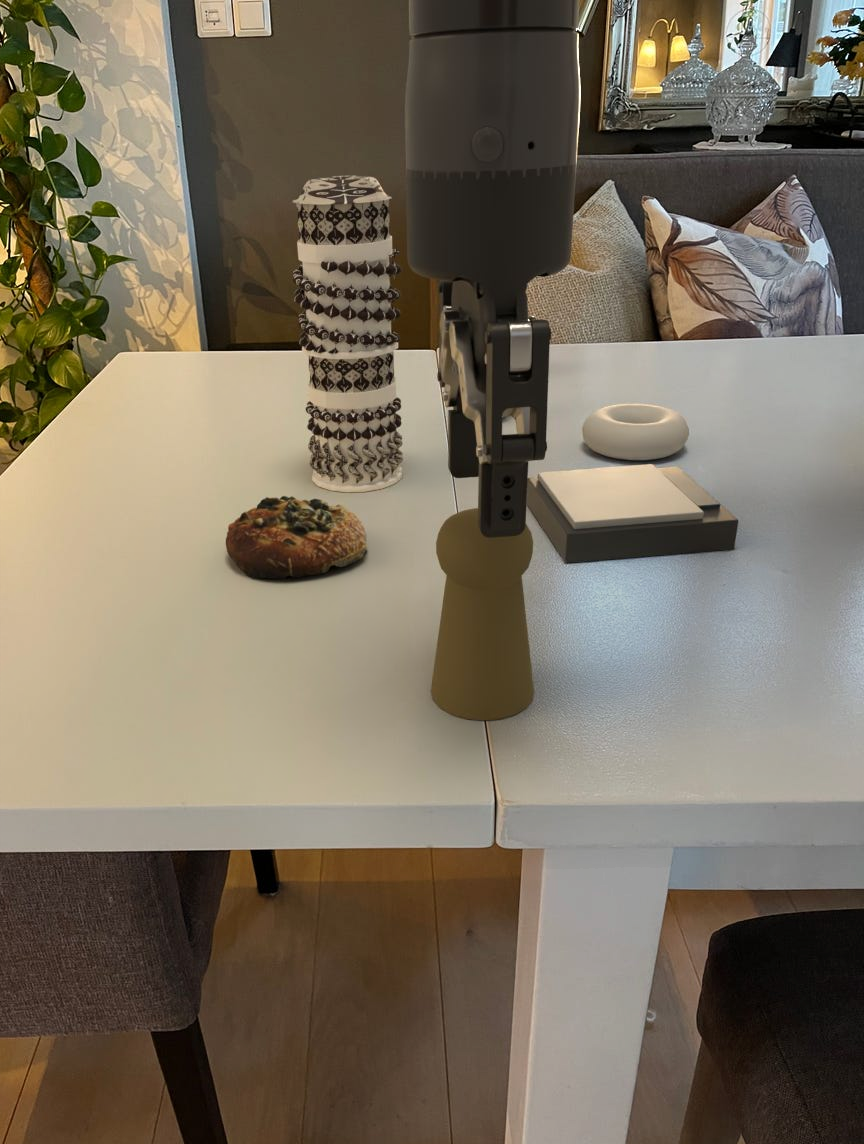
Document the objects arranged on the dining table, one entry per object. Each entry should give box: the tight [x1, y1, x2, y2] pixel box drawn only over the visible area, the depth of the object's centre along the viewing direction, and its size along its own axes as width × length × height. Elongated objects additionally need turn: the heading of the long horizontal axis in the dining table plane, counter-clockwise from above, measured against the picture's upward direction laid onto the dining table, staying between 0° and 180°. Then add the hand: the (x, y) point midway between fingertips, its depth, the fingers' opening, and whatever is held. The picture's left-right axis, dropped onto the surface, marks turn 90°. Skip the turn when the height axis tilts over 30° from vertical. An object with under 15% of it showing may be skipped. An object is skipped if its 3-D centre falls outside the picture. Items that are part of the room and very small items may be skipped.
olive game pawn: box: [430, 507, 535, 721], centre depth 53 cm, size 6×6×11 cm
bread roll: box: [225, 495, 369, 580], centre depth 73 cm, size 11×11×5 cm
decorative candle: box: [291, 175, 404, 493], centre depth 82 cm, size 9×9×25 cm
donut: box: [581, 403, 690, 461], centre depth 91 cm, size 10×4×10 cm
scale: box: [526, 463, 740, 564], centre depth 75 cm, size 13×12×3 cm
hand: (483, 502), depth 50 cm, fingers open, 8 cm apart
